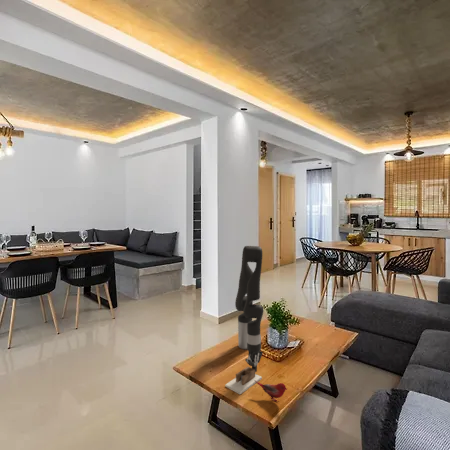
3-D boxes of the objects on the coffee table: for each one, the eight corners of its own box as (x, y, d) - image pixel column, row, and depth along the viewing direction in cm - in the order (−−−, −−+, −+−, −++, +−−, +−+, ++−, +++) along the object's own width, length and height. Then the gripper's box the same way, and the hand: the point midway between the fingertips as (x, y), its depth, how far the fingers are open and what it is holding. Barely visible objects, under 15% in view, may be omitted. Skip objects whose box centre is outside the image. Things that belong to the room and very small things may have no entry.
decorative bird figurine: (285, 407, 141) (285, 386, 140) (252, 393, 152) (252, 374, 151) (288, 404, 143) (288, 383, 143) (255, 390, 154) (255, 371, 153)
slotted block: (243, 385, 157) (243, 377, 157) (235, 381, 160) (235, 374, 160) (255, 376, 164) (255, 369, 164) (247, 373, 168) (247, 366, 167)
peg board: (247, 371, 171) (247, 364, 171) (261, 378, 164) (261, 371, 164) (225, 386, 158) (225, 379, 158) (240, 394, 151) (240, 386, 151)
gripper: (252, 347, 159) (252, 379, 160) (266, 338, 168) (267, 368, 170) (240, 343, 164) (241, 374, 165) (255, 334, 173) (256, 364, 175)
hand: (254, 371), depth 167 cm, fingers closed
